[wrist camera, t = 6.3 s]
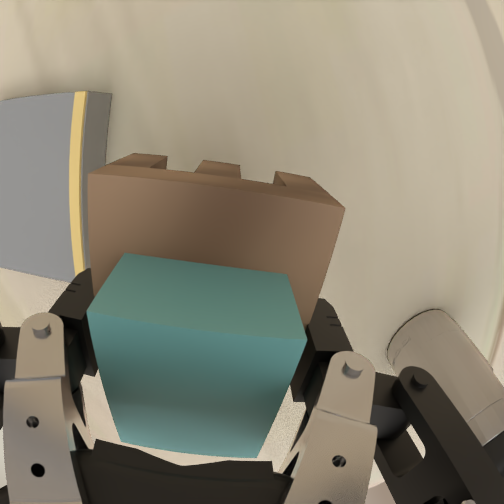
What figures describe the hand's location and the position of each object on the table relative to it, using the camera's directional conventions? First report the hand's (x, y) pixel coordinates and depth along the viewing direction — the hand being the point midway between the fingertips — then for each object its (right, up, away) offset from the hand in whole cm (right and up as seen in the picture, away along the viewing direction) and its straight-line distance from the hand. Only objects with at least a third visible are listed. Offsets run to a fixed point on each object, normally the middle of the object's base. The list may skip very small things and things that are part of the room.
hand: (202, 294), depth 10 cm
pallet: (0, 0, +1) cm, 1 cm away
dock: (-16, +8, +10) cm, 20 cm away
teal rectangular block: (0, -1, -2) cm, 3 cm away
